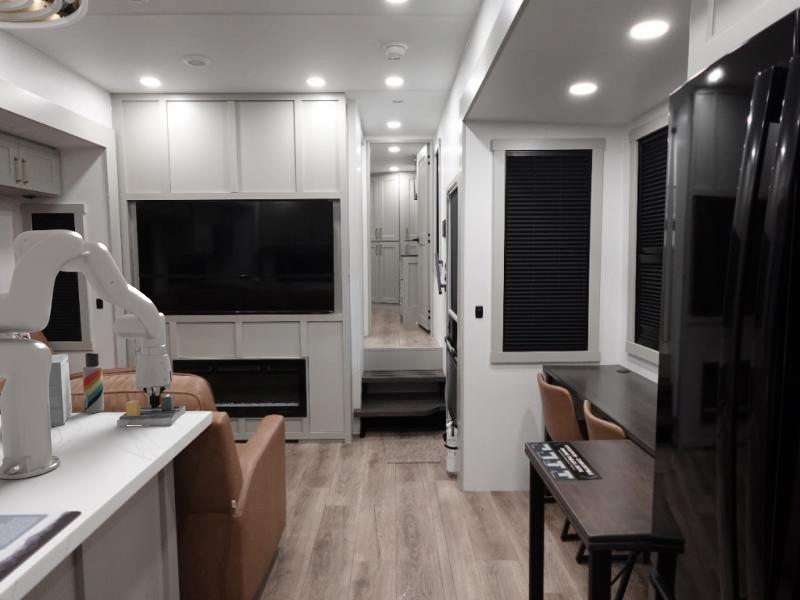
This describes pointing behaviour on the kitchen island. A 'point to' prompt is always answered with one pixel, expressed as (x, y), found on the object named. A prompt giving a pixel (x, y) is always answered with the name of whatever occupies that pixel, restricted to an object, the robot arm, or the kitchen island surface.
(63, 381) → the hard drive box
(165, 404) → the fader
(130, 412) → the fader
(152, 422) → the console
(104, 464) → the kitchen island surface
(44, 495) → the kitchen island surface
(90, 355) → the lotion bottle
